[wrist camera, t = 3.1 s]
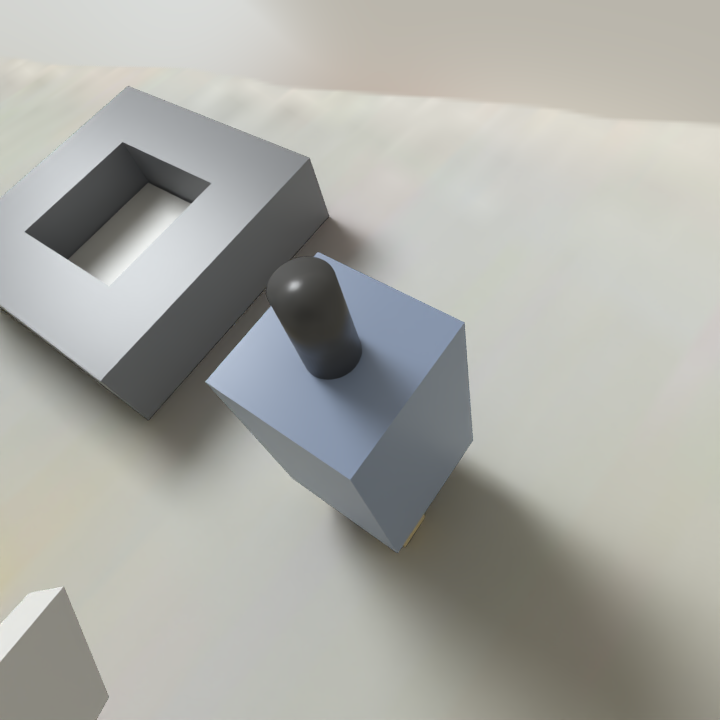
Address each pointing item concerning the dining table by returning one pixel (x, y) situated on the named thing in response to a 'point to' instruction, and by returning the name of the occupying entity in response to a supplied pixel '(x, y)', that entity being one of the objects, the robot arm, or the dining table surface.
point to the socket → (150, 240)
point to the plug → (354, 393)
